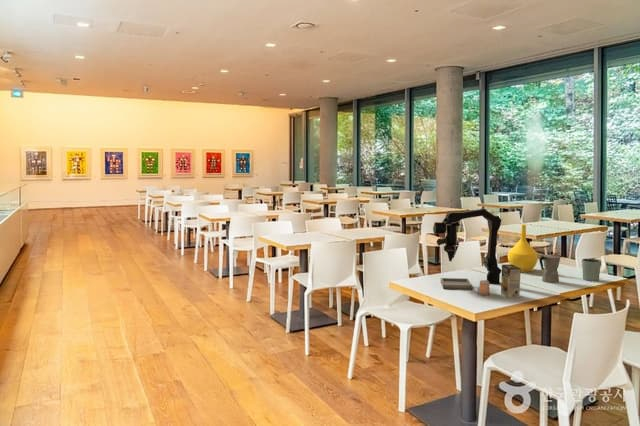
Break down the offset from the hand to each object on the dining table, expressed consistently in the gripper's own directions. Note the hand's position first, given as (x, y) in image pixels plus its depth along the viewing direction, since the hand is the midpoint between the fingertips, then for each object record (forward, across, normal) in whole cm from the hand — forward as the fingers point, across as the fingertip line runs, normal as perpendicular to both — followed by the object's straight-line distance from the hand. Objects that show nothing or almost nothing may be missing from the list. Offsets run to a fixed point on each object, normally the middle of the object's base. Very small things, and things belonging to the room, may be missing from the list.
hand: (451, 259), depth 290 cm
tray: (+14, +5, +3) cm, 15 cm away
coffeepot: (+15, -25, +53) cm, 61 cm away
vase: (+15, -51, +38) cm, 65 cm away
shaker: (+14, +17, +20) cm, 30 cm away
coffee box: (+15, +16, +33) cm, 39 cm away
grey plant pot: (+15, -38, +76) cm, 87 cm away
